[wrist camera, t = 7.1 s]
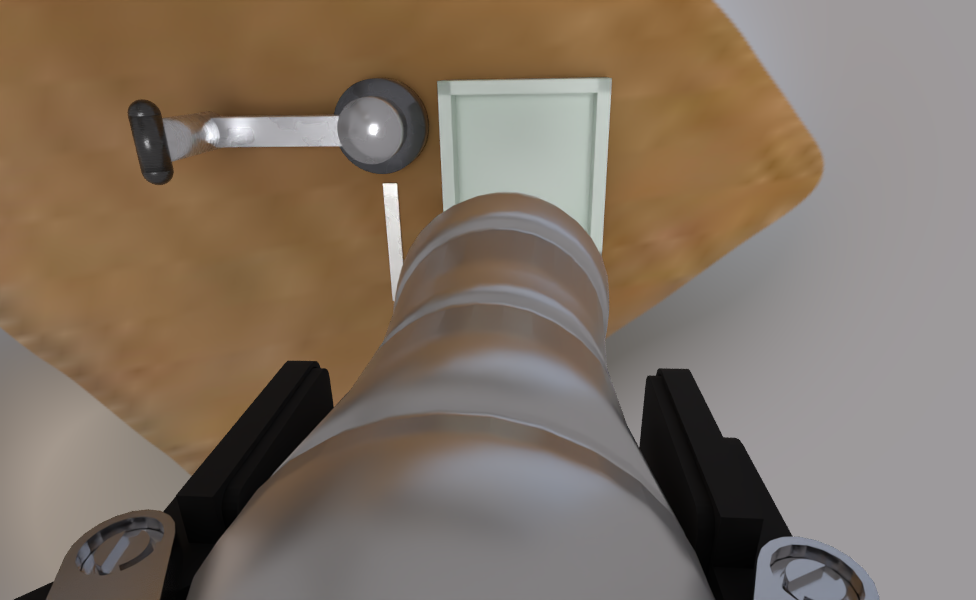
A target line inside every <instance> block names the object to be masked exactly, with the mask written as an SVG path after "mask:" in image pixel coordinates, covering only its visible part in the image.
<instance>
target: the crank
mask: <svg viewBox="0 0 976 600" xmlns="http://www.w3.org/2000/svg"><path fill="white" fill-rule="evenodd" d="M128 118H129V122H130V126H131V130H132V135H133V139H134V143H135V147H136V151H137V155H138V160H139V164H140V168H141V172H142V175H143V176H144V178H145V179H146V180H147V181H148V182H150V183H152V184H155V185H163V184H166V183H168V182H169V181H170V180H171V179H172V177H173V173H174V171H173V165H172V161H176V160H179V159H183V158H187V157H190V156H194V155H198V154H202V153H205V152H209V151H213V150H216V149H220V148H222V147H293V146H342V147H343V148H344V150H345V151H346V152H347V153H348V154H349V155H350V156H351V157H352V158H354V159H355V160H357V161H359V162H362V163H365V164H378V163H382V162H384V161H386V160H388V159H389V158H391V157H392V156H394V155H395V154H397V153H398V152H399V151H400V150H401V149H402V147H403V146H404V144H405V141H406V138H407V132H408V128H407V122H406V118H405V116H404V114H403V112H402V111H401V109H400V108H399V107H398V106H397V105H396V104H395V103H394V102H393V101H391V100H390V99H388V98H385V97H382V96H367V97H362V98H358V99H355V100H353V101H351V102H350V103H349V104H347V105H346V106H345V107H344V109H343V110H342V112H341V114H339V115H264V116H221V115H219V114H217V113H215V112H210V111H208V112H201V113H194V114H187V115H180V116H174V117H167V118H162V115H161V112H160V110H159V108H158V107H157V106H156V105H155V104H154V103H152V102H151V101H148V100H136V101H134V102H133V103H132V104H130V106H129V108H128Z"/></svg>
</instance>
